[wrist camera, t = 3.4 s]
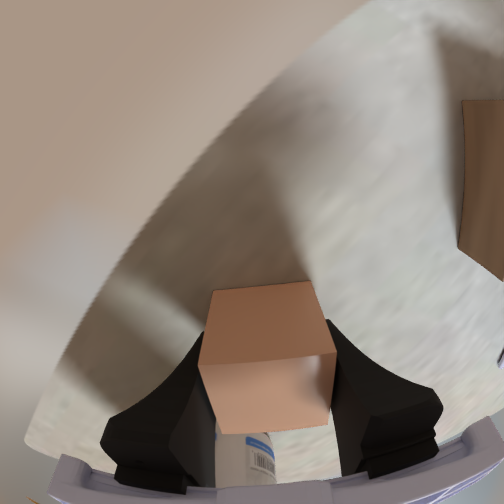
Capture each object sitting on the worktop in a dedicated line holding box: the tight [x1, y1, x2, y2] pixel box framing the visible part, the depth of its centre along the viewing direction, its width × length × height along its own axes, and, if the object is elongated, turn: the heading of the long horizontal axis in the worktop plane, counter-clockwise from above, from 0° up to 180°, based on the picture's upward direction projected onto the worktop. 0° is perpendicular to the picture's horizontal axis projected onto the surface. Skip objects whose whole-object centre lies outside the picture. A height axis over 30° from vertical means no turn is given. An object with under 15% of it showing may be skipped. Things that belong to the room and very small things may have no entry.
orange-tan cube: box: [198, 281, 337, 434], centre depth 12 cm, size 5×5×5 cm
